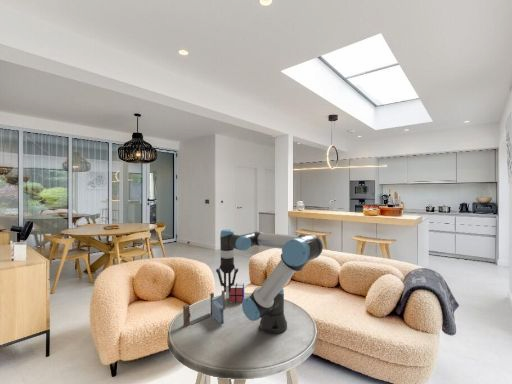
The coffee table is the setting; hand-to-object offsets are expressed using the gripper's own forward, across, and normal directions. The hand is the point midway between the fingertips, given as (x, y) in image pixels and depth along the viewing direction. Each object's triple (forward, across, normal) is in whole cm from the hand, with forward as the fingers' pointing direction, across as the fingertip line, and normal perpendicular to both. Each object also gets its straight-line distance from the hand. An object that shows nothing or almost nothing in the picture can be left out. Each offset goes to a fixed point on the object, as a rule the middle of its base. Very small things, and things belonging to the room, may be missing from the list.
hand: (227, 297), depth 161 cm
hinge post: (+15, +10, -11) cm, 21 cm away
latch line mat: (+15, +16, -5) cm, 23 cm away
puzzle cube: (+15, -5, -32) cm, 35 cm away
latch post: (+15, +23, +2) cm, 27 cm away
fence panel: (+15, +6, -15) cm, 22 cm away
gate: (+14, +6, -3) cm, 15 cm away
